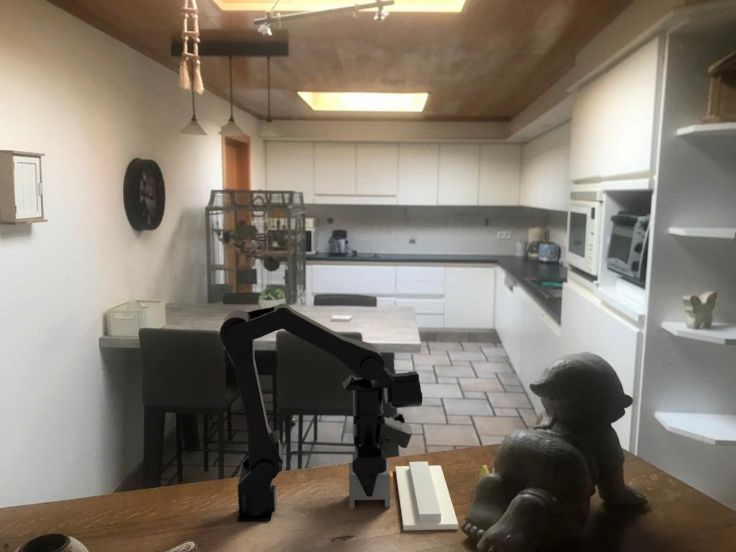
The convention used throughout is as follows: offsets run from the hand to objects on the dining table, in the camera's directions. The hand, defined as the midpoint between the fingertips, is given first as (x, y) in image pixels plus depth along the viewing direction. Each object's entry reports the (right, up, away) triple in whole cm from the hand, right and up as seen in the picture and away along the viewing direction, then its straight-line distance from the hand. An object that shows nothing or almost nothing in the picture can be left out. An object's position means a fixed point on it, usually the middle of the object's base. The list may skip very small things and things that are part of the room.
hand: (369, 483), depth 112 cm
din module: (0, -4, +1) cm, 4 cm away
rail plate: (+11, -3, +2) cm, 12 cm away
